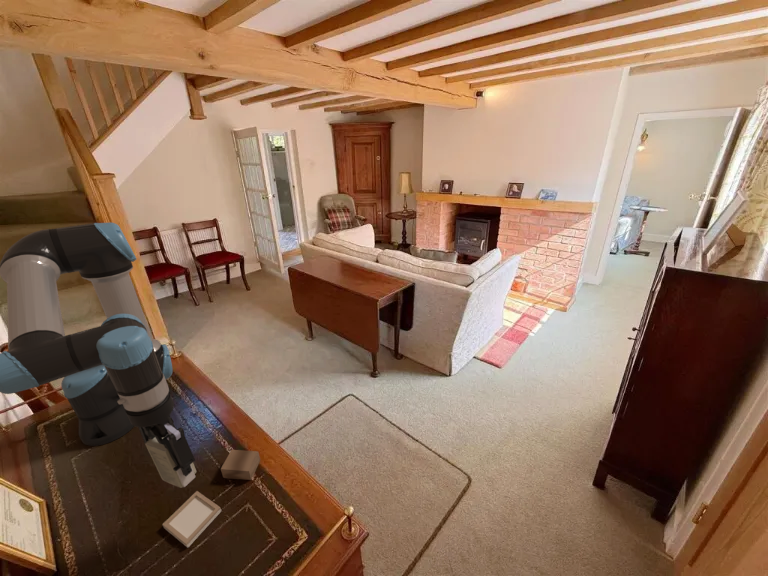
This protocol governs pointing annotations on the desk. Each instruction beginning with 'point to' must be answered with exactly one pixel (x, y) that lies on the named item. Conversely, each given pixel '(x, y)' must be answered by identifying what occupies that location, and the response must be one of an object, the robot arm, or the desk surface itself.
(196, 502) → the picture frame
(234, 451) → the walnut box
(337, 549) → the desk surface
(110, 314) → the robot arm
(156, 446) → the skincare box
